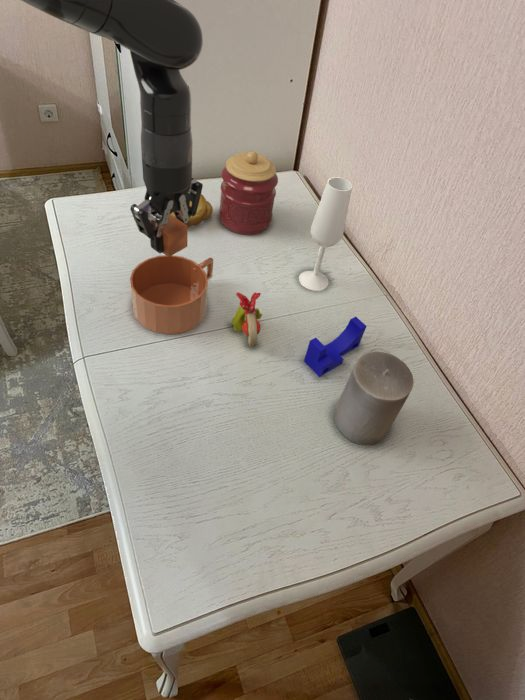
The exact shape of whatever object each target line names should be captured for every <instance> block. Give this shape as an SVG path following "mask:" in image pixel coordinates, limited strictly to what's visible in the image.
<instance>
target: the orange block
mask: <svg viewBox="0 0 525 700" xmlns="http://www.w3.org/2000/svg"><path fill="white" fill-rule="evenodd" d="M155 226H156V227H157V223H156V224H155ZM188 229H189V227H188V226H187V225H186V224H184V223H183V222H181V221H180V220H178V219H177V218H175V217H174V216H172V215H171V214H170V215H169V219H168V223H167V224H166V225H165V226H164V230H163V234H162V235H163V242H164V252H162V253H161V254H163V255H166V256H168V257H170V256H172V255H175V254H177V253H179V252H181V251H183V250H185V249H186V248H187V247H188V239H189V238H188V236H189V235H188V233H189V231H188Z"/></svg>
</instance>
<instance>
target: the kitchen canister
mask: <svg viewBox="0 0 525 700" xmlns="http://www.w3.org/2000/svg"><path fill="white" fill-rule="evenodd" d="M220 173H221V179H222V181H221V184H220V200H219V201H220V202H219V207H218V216H219V221H220V223H221V225H222V226H223V227H224V228H225V229H226V230H229V231H230V232H233V233H236V234H239V235H245V236H253V235H258V234H261V233H263V232H265V231H266V230H267V229H268V228H269V227H270V225H271V222H272V220H273V211H274V203H275V198H276V197H277V196H276V195H277V190H276V187H277V185H278V183H279V178H278V175H277V168H276V166H275V164H274V163H273V162H272V161H271V160H270V159H269V158H267V157H265V156H264V155H262V154H259V153H257V152H256V151H253V150H250V151H245V152H239V153H238V154H235V155H233V156H231V157H229V158H228V159H227V160H226V161H225V166H224V168H222V170H221V172H220Z"/></svg>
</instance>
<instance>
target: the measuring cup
mask: <svg viewBox="0 0 525 700" xmlns="http://www.w3.org/2000/svg"><path fill="white" fill-rule="evenodd" d="M205 268H206V271H205V270H204V269H205ZM213 272H214V258H213V257H208V258H206V259H205V260H203V261H201V262H199V263H197V262H195V261H194V260H192V259H189V258H186V257H184V256H179V255H175V254H173V255H172V256H170V257H168V256H166V255H165V254H163V255H156V256H153V257H150V258H147V259H145V260H143V261H141V262H140V263H138V264H137V266H135V267H134V269H133V270H132V272H131V275H130V277H129V283H130V294H131V301H132V302H131V303H132V313H133V316H134V317H135V319H136V321H137V322H138V323H139V324H140V325H141V326H142V327H143V328H145V329H147V330H149V331H151V332H154V333H157V334H162V335H178V334H182V333H183V334H184V333H186V332H188V331H192V330H193V329H195V328H196V327H197V326H199V325H200V323H202V321H203V320H204V318H205V316H206V313H207V308H208V291H209V290H208V289H209V280H211V279H212V278H213V274H214V273H213Z"/></svg>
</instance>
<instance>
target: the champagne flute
mask: <svg viewBox="0 0 525 700" xmlns="http://www.w3.org/2000/svg"><path fill="white" fill-rule="evenodd" d="M352 190H353V184H352V182H351V181H350V180H348V179H346V178H344V177H340V176H332V177H329V178H328V179H327V181H326V184H325V186H324V190H323V192H322V195H321V198H320V201H319V204H318V205H317V210H316V212H315V215H314V217H313V221H312V223H311V226H310V236H311V237H312V240H313V241H314V242H315V244H317V245H318V246H319V250H318V253H317V255H316V256H317V257H316V259H315V264H314V268H313V270H305V271H302V272H301V273H300V274H299V276H298V281H299V283H300V284H301V286H303V287H304V288H305V289H307V290H310V291H315V292H319V291H323V290H325V289H327V288H328V286H329V279H328V277H327V276H326V275H325V274H323V273H322V272H320V269H321V266H322V262H323V258H324V254H325V251H326V248H330V247H334V246H335V245H337V244H339V242H340V241H342V239H343V237H344V233H345V228H346V221H347V218H348V217H347V216H348V212H349V211H348V210H349V206H350V200H351V196H352V195H351V194H352Z"/></svg>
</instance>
